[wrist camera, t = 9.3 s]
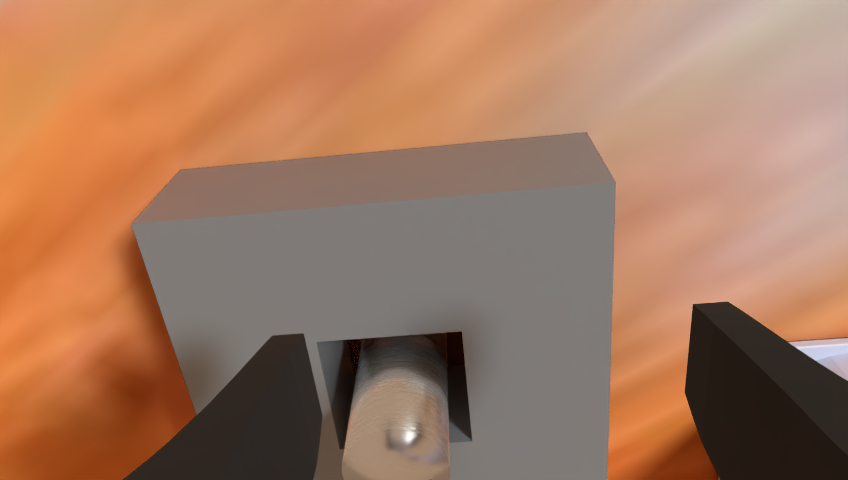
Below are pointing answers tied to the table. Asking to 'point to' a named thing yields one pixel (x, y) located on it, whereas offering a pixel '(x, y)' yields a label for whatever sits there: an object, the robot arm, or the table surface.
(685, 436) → the table surface
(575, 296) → the grey square hole plate
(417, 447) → the metal peg
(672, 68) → the table surface
